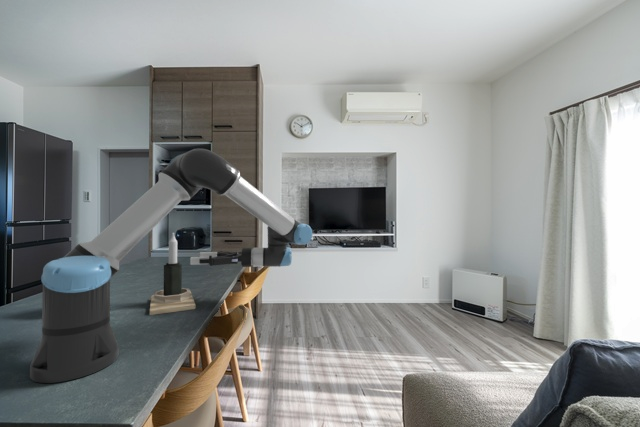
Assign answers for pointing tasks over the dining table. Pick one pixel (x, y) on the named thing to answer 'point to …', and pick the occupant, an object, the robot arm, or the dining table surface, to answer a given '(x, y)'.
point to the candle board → (171, 302)
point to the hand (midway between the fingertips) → (195, 258)
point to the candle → (172, 271)
